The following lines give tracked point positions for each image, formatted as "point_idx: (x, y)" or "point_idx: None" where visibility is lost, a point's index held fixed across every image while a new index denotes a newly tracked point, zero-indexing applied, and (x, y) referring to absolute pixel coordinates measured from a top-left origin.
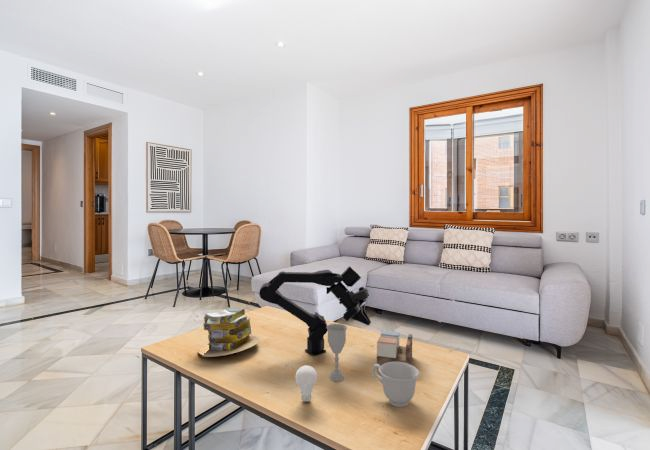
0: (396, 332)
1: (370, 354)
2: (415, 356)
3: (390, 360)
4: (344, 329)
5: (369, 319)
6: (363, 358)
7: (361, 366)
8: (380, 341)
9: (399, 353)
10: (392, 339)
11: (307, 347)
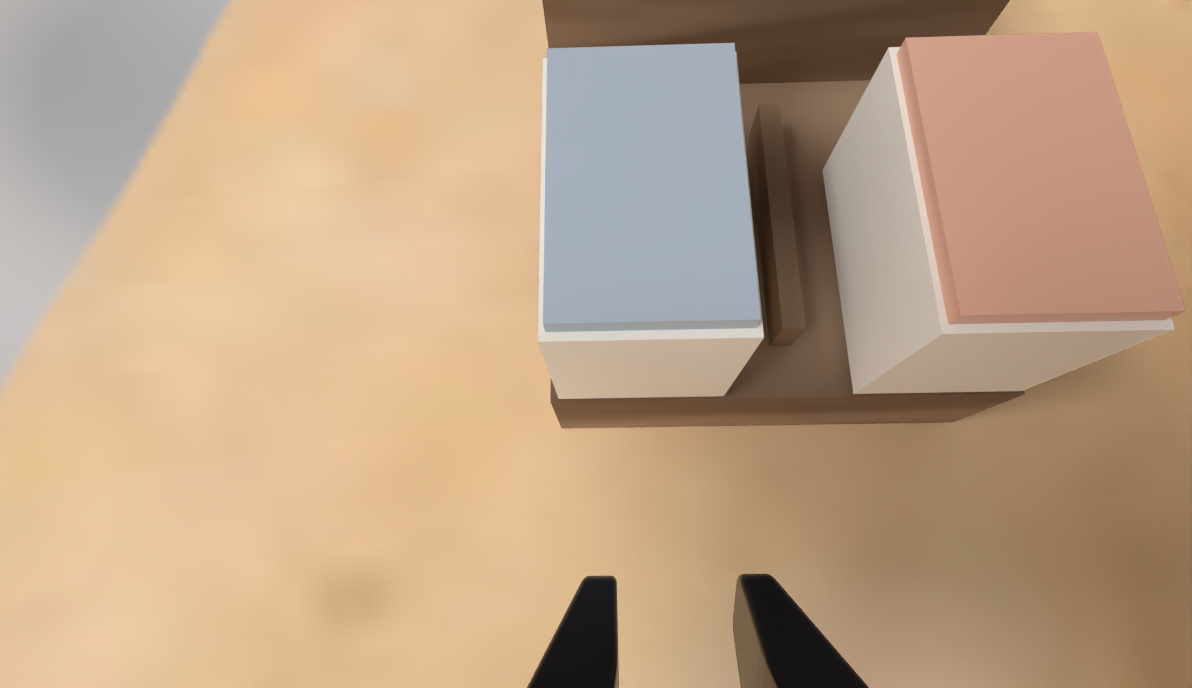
0: (589, 78)
1: (635, 561)
2: (533, 102)
3: None
4: None
5: (576, 640)
6: None
7: (1012, 602)
8: (1166, 258)
9: (787, 155)
10: (951, 93)
11: None
